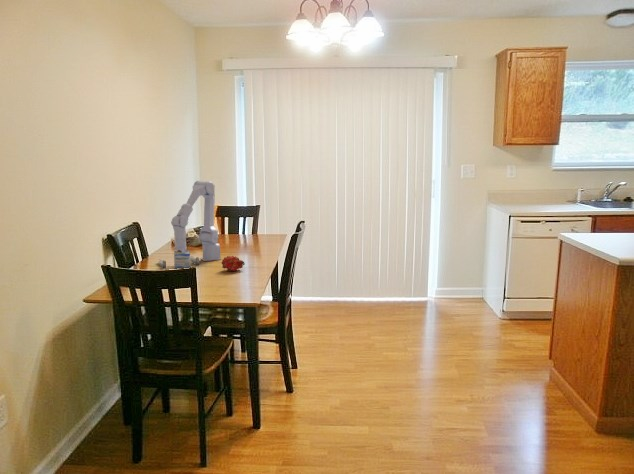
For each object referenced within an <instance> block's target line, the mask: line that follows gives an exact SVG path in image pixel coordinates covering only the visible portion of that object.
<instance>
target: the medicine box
mask: <svg viewBox="0 0 634 474" xmlns="http://www.w3.org/2000/svg"><path fill="white" fill-rule="evenodd" d="M190 256H191V252H190V249H189V250H188V249H186V253H181V251H178V250H174V251H173V260H174V261H173V262H174V265H173V266H174V270H178V269H177V268H184V269H190V268H191V260H190ZM189 267H190V268H189Z"/></svg>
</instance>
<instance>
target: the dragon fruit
mask: <svg viewBox="0 0 634 474" xmlns="http://www.w3.org/2000/svg"><path fill="white" fill-rule="evenodd" d="M221 260H222V261H221V265H222V269H226V270H227V271H228V272H232V271H233V272H239V271H241V270H240V269H243V267H244V266H245V263H246V262H244V261H243V260H241V259H239V257H238V256H234V255H227V256H225V257H224V258H223V259H221Z"/></svg>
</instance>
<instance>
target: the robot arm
mask: <svg viewBox="0 0 634 474" xmlns="http://www.w3.org/2000/svg"><path fill="white" fill-rule="evenodd" d="M200 196H202V197H203V198H204V206H203V208H204V210H203V226H202V227H201V228H200V230H199V231H200V232H199V235H198V239H199V242H200V244H201V245H202V257H200V259H201V260H202V261H204V262H209V261H221V260H222V259H221V245H220V243H218V241H219V235H218V230H217V228H216V227H215V226H214V225H215V184H214V183H213V182H212V181H208V180H206V181H203V180H195V181H194V184H193V185H192V191H191V193H190V195H189V197H188V199H187V201H186V203H183V204H182V205H181V206H180V209H179V210H178V213H176V215H174V216H173V217H172V219H171V221H170V222H171V225H172V229H173V232H174V247H172V250H175V251H181V253H186V250H187V249H188V248H187V233H186V227H187V226H188V223H189V217H190V215H191V214H192V212H193V210H194V209H193V206H194V204H196V202H197V200H198V199H199V198H200Z"/></svg>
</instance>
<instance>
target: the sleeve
mask: <svg viewBox="0 0 634 474" xmlns="http://www.w3.org/2000/svg"><path fill="white" fill-rule="evenodd" d="M157 260H158V264H159V265H160V266H161V267H163V268H166V269H167V261H166V260H162V259H161V258H160V259H157ZM190 262H192V263H193V264H195V266H200V258H199V257H194V256H191V255H190ZM163 268H162V269H163Z"/></svg>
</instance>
